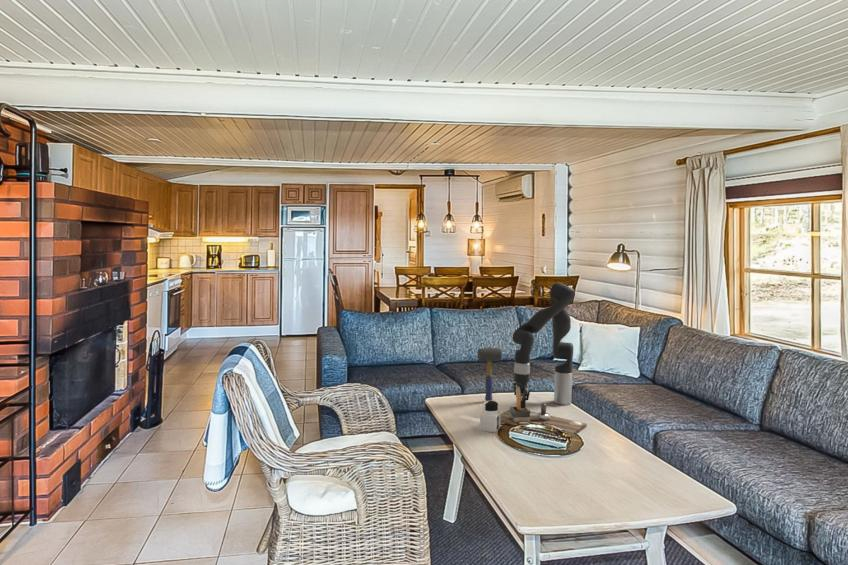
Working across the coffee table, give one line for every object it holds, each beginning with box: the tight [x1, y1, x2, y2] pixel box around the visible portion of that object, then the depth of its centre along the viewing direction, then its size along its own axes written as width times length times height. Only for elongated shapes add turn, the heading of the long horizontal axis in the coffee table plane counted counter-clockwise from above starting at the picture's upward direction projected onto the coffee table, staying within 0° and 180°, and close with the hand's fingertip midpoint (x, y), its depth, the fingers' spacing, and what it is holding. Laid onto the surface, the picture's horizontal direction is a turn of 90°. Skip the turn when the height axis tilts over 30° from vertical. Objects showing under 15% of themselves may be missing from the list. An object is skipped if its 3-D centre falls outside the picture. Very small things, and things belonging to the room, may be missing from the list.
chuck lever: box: [509, 402, 551, 422], centre depth 259 cm, size 19×8×7 cm, turn 98°
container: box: [479, 400, 502, 433], centre depth 250 cm, size 8×8×13 cm
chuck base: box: [500, 409, 588, 436], centre depth 257 cm, size 24×39×2 cm, turn 52°
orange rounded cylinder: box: [515, 387, 525, 411], centre depth 257 cm, size 4×4×13 cm
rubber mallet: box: [477, 347, 503, 401], centre depth 292 cm, size 12×8×30 cm, turn 97°
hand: (520, 406), depth 258 cm, fingers closed on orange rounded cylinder, 4 cm apart
